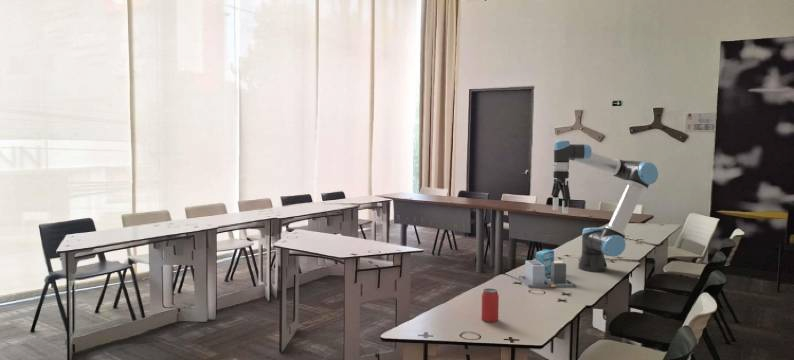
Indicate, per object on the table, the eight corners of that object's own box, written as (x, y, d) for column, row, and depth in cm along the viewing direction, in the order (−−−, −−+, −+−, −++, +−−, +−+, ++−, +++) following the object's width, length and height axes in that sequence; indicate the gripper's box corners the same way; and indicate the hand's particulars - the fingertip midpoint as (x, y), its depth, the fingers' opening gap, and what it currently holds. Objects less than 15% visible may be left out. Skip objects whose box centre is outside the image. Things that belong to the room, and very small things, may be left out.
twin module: (536, 279, 270) (537, 259, 270) (544, 286, 258) (544, 265, 258) (525, 279, 270) (525, 259, 269) (532, 286, 258) (532, 265, 257)
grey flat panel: (562, 278, 274) (562, 275, 274) (576, 288, 255) (576, 285, 255) (518, 278, 272) (518, 276, 272) (529, 289, 254) (530, 286, 254)
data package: (542, 275, 279) (543, 253, 278) (535, 274, 282) (535, 252, 281) (553, 271, 287) (554, 250, 287) (546, 270, 291) (546, 248, 290)
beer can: (479, 317, 213) (480, 288, 212) (495, 316, 214) (496, 287, 213) (483, 322, 207) (484, 292, 206) (500, 322, 207) (500, 292, 206)
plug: (562, 281, 268) (562, 260, 267) (565, 283, 263) (566, 263, 262) (550, 281, 267) (550, 260, 266) (553, 283, 262) (554, 263, 261)
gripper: (545, 169, 283) (544, 208, 285) (563, 172, 258) (562, 215, 260) (559, 169, 283) (558, 208, 285) (578, 172, 259) (576, 214, 260)
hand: (560, 211), depth 272 cm, fingers open, 13 cm apart
